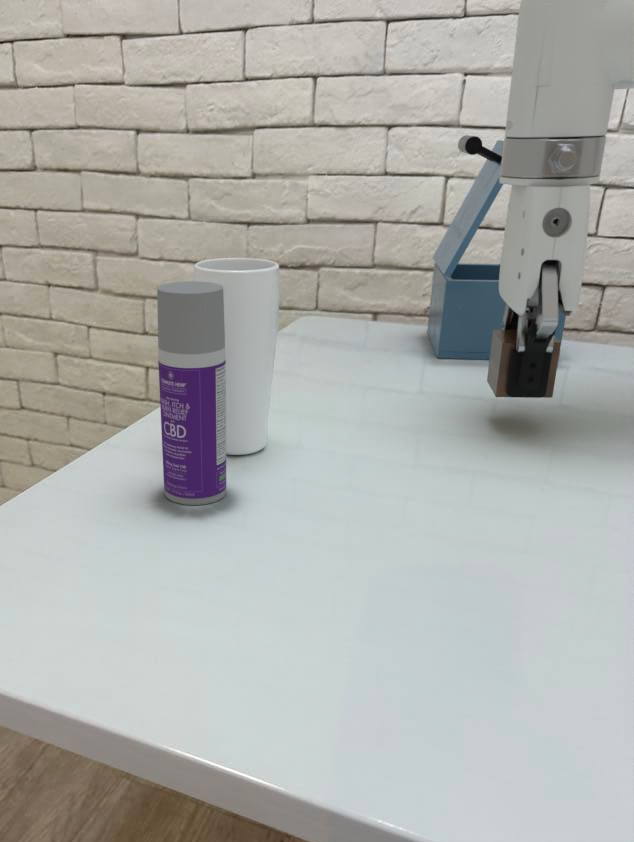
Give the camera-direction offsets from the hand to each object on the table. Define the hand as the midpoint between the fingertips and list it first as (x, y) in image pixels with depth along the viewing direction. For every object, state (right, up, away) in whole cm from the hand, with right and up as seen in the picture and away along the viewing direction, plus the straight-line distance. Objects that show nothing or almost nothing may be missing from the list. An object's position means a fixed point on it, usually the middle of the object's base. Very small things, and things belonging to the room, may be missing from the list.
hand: (519, 384), depth 73 cm
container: (-28, -10, -11) cm, 32 cm away
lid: (+3, +24, +21) cm, 32 cm away
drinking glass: (-25, -6, -3) cm, 26 cm away
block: (0, 0, 0) cm, 0 cm away
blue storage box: (+6, +10, +27) cm, 30 cm away
